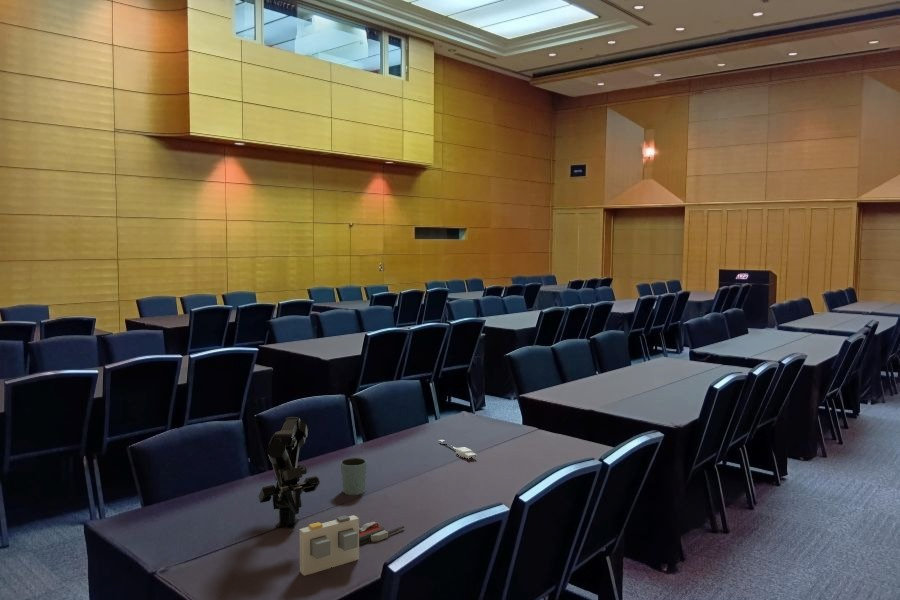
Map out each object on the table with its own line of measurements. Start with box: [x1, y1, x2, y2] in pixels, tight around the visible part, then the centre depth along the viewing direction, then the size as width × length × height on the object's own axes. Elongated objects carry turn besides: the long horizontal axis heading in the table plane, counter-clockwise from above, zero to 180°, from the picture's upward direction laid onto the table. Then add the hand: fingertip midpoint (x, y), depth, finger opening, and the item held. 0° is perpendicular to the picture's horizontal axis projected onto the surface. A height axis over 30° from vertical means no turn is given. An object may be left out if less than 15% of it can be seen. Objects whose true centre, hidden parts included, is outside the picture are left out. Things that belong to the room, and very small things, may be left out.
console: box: [299, 514, 360, 577], centre depth 202 cm, size 3×18×14 cm, turn 126°
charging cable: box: [438, 439, 478, 460], centre depth 316 cm, size 5×32×3 cm, turn 28°
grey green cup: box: [340, 457, 367, 496], centre depth 263 cm, size 10×10×12 cm
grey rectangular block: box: [310, 536, 330, 559], centre depth 199 cm, size 9×4×4 cm, turn 36°
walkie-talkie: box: [359, 520, 406, 546], centre depth 223 cm, size 9×4×20 cm
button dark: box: [338, 529, 358, 551], centre depth 204 cm, size 9×4×4 cm, turn 36°
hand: (297, 513), depth 210 cm, fingers closed
